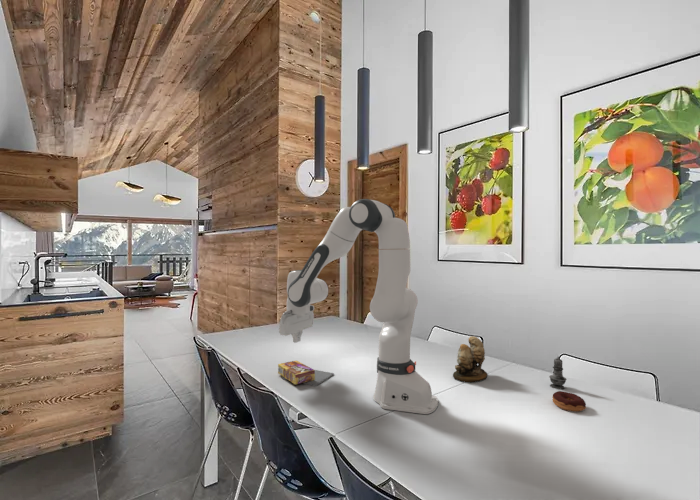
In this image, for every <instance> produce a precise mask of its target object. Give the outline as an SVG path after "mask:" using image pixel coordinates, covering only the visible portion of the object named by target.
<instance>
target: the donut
mask: <svg viewBox="0 0 700 500" xmlns="http://www.w3.org/2000/svg"><path fill="white" fill-rule="evenodd" d="M552 402H553V404H554V405H555V406H557V407H558V408H559V409H561V410H564V411H568V412H571V413H572V412H575V413H579V412H583V411H585V410H586V409H587V407H586V405H587V404H586V401H585V399H584V398H583V397H580V396H579V395H577V394H575V393H572V392H567V391H563V390H562V391H561V390H558V391H555V392H553V394H552Z"/></svg>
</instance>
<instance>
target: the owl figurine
mask: <svg viewBox="0 0 700 500" xmlns="http://www.w3.org/2000/svg"><path fill="white" fill-rule="evenodd" d="M468 344H469V345H467V344H465V343H461V344H460V345H459V348H458V351H457V357H456V363H457V364H456V365H455V366H454V369H455V371H454V372H453V374H452V377H453V379H454V380H456V381H458V382H461V383H468V384H470V383H471V384H472V383H480V382H483V381H485V380H486V379H487V378H488V373H487V371H485V369H484V368H482V365H483V363H484V361H485V360H486V358H485V355H486V352H485V351H486V350H485V347H484V343H483V341H481V340H480V339H479V338H478V337H476V336H473V335H471V336H469V338H468Z"/></svg>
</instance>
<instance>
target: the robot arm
mask: <svg viewBox="0 0 700 500" xmlns="http://www.w3.org/2000/svg"><path fill="white" fill-rule="evenodd" d="M408 227H409V226H408V225H407V222H406V221H405V220H404V219H402V218H401V217H396V214H395V211H394V209H393V208H392V207H391V206H390V205H388V204H387V203H383V202H382V201H381V202H380V201H379V200H374V199H369V198H362V199H361V198H360V199H358V200H356V201H355V202H353V203H352V205H351V206H345V207H342V208H341V209H340V210H339V212H338V213H337V214H336V216H335V218H334V219H333V220H332V222H331V223H330V226H329V228H328V230H327V232H326V234H325V235H324V237H323V239H322V240H321V242H320V243H319V244H318V245H317V246H316V248H315V249H314V250H313V251H312V253H311V254H310V256H309V257H308V259H307V260H306V262H305V264H304V266H303V268H302V269H297V270H291V271H290V272H289V273H288V275H287V278H286V279H287V280H286V293H287V299H286V311H284V312H283V313H282V314H281V317H280V320H279V328H278V330H279V331H278V333H279V335H280V336H283V337H284V336H285V337H287V336H291V337H292V342H293V343H294V344H296V343H299V342H301V339H302V334H303V331H304V330H307V329H309V328H312V327H313V325H314V322H315V321H314V319H315V314H314V310H315V306H314V305H313V304H316V303H321V302H322V301H325V300H327V298H328V296H329V295H328V294H329V286H328V284H327V282H326V281H325V280H323V279H322V278H321V279H320V278H318V276H319V275H320V273H321V271H322V270H323V269H324V267H325V266H327V265H328V264H330V263H331V262H333V261H335V260H338V259H341V258H343V257H344V256H346V255H347V254H348V253H349V252H350V251H351V249H352V248H353V245H354V244H355V241H357V237H359V234H360V232H361V231H367V232H370V233H373V232H374V233H375V234H376V236H377V238H378V273H377V274H378V275H377V280H376V285H375V289H374V294H373V297H372V298H371V301H370V303H369V311H370V314H371V316H372V318H373V319H374V320H376V321H378V322H380V323H383V324H382V327H381V330H380V332H379V335H378V357H377V358H376V360H377V361H376V373H377V378H376V385H375V389H374V393H373V396H372V398H373V400H374V401H375V402H376V403H377V404H379V405H380V408H382V409H384V410H389V411H390V410H391V411H399V412H406V413H414V414H420V415H429V414H431V413H433V412H434V411H436V410H437V408H438V406H439V398H438V397H437V396H435V395H433V393H432V387H431V385H430V382H428V380H426V379H425V378H424V377H423V376H422V375H420V374H419V373H418V372H417V371H416V365H417V361H413V360H412V359H411V337H412V331H413V324H414V319H415V313H416V309H417V306H418V296H417V293H415V291H414V290H412V289H411V288H408V287H407V284H408V279H409V276H410V273H411V241H410V233H409V228H408Z"/></svg>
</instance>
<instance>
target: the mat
mask: <svg viewBox="0 0 700 500" xmlns="http://www.w3.org/2000/svg"><path fill="white" fill-rule="evenodd" d="M314 370H315V380H312V381H308V382H304V383H303V385H304V384H305V385H309V386H314V387H318V386H319V385H321V384H322V383H323V382H325V381H327V380H328V379H330V378H332V377H333V376H334V375H335V373H333V372H329V371H324V370H319V369H314ZM281 377H282V380H286V381H288V380H287V379H286V378H284V377H283V376H281Z"/></svg>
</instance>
